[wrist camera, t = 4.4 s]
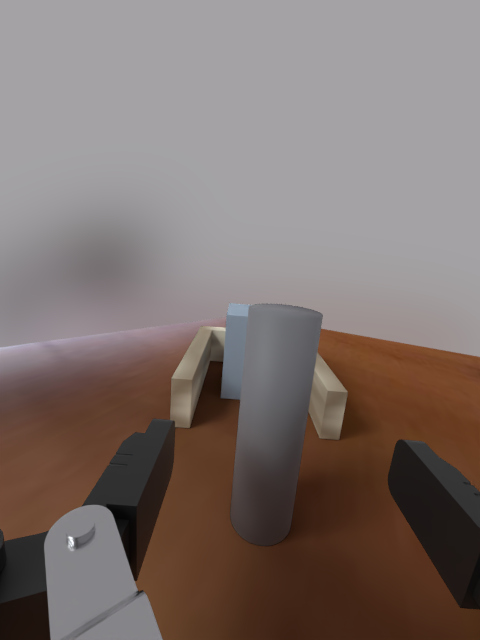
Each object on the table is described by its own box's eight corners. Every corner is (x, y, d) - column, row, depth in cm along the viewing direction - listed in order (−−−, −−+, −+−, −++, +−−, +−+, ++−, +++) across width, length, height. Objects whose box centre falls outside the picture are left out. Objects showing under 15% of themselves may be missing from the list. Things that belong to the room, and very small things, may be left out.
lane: (170, 426, 22) (171, 378, 21) (199, 355, 37) (201, 325, 36) (339, 439, 22) (347, 392, 21) (299, 363, 37) (303, 334, 36)
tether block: (198, 541, 13) (213, 312, 11) (224, 372, 32) (231, 275, 30) (325, 550, 13) (368, 324, 11) (276, 376, 32) (288, 280, 30)
